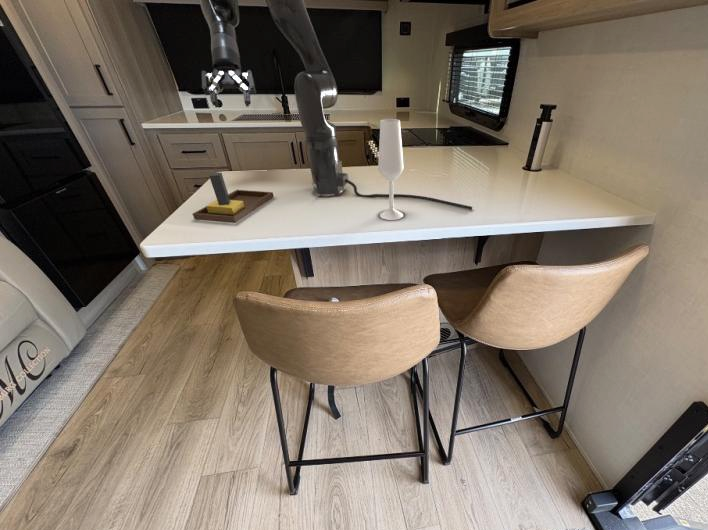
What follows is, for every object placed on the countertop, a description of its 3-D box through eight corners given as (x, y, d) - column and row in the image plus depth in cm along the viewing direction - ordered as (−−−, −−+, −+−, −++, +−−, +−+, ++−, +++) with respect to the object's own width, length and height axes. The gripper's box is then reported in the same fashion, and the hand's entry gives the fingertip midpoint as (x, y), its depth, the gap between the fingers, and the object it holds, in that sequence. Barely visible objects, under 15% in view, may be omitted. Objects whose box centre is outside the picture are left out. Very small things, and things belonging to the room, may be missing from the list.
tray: (274, 198, 105) (272, 192, 104) (236, 224, 89) (233, 217, 88) (238, 196, 107) (236, 189, 106) (195, 221, 91) (192, 213, 90)
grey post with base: (245, 209, 96) (234, 172, 90) (234, 216, 92) (222, 177, 85) (221, 207, 97) (208, 170, 91) (209, 214, 93) (195, 176, 87)
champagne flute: (401, 210, 97) (402, 118, 83) (404, 219, 92) (405, 122, 77) (379, 211, 96) (375, 118, 82) (380, 220, 91) (377, 123, 77)
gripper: (194, 45, 94) (199, 96, 92) (247, 45, 97) (253, 94, 94) (205, 67, 101) (210, 115, 99) (254, 66, 104) (260, 113, 102)
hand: (231, 105), depth 97 cm, fingers open, 8 cm apart
